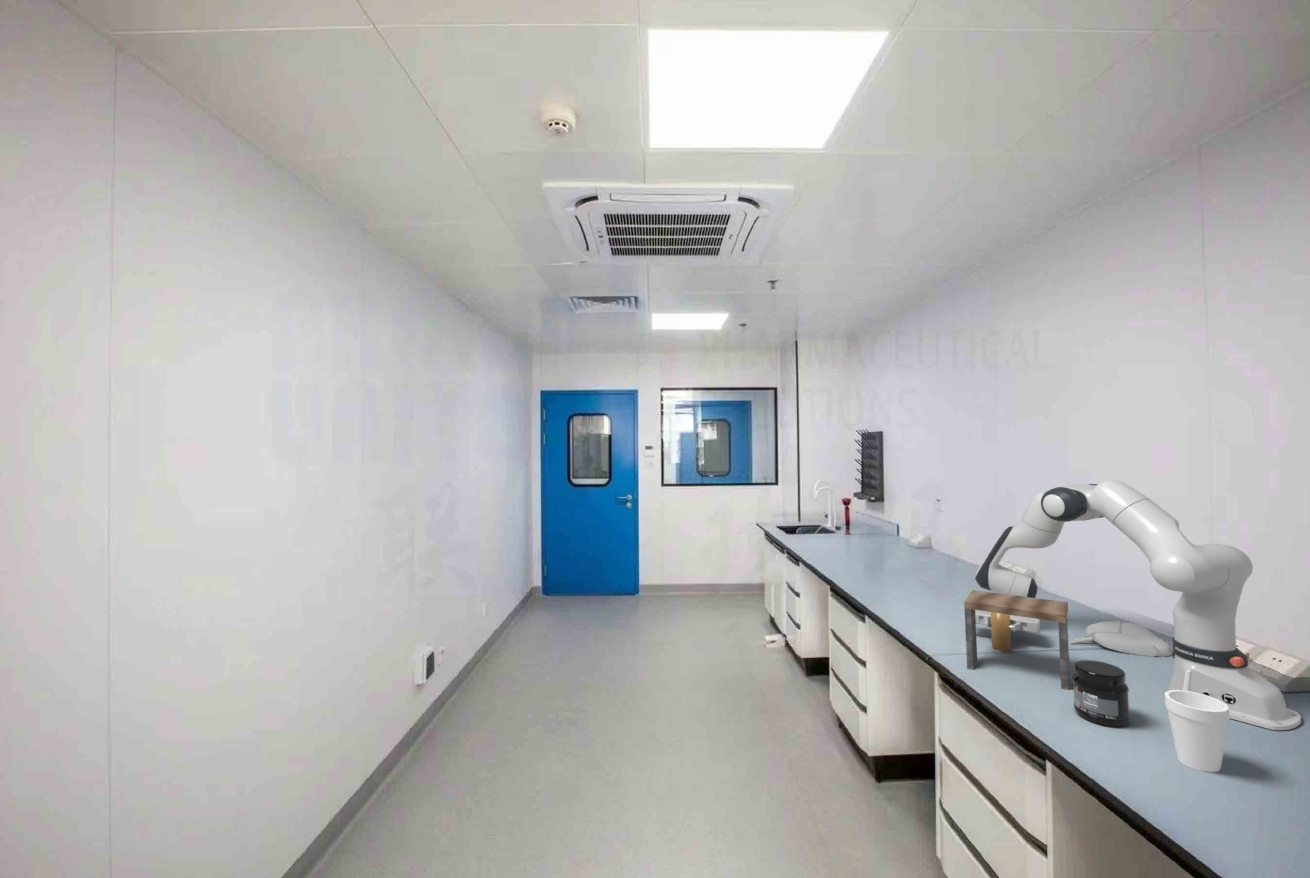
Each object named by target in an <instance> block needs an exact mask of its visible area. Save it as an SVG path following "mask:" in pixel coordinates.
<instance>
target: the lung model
mask: <svg viewBox="0 0 1310 878" xmlns="http://www.w3.org/2000/svg"><path fill="white" fill-rule="evenodd" d="M1085 636H1086V637H1078V638H1074V639H1068V643H1069V642H1070V643H1069V644H1070V645H1076V644H1080V643H1081V644H1082V643H1088V642H1089V643H1090V642H1095V643H1096V644H1099V645H1100V646H1102V647H1104V648H1106V649H1108V650H1109V649H1110V650H1112V651H1115V652H1116V651H1117V652H1120V653H1124V654H1127V653H1129V654H1128V655H1131V654H1135V655H1134V656H1141V655H1149V656H1148V657H1150V656H1158V657H1161V656H1166V657H1170V656H1173V653H1172V647H1171V645H1169V644H1168V642H1166V641H1165V640H1163V639H1162V638H1160V637H1158V636H1156V635H1154V634H1153V633H1152V632H1151V631H1149V630H1148V629H1147V627H1144V626H1142V625H1140V624H1136V623H1134V622H1122V621H1119V620H1113V621H1111V620H1110V621H1100V622H1097V623H1091V624H1089V625H1088V626H1086V627H1085Z"/></svg>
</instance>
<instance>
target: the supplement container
mask: <svg viewBox="0 0 1310 878" xmlns="http://www.w3.org/2000/svg"><path fill="white" fill-rule="evenodd" d="M1074 672H1075V673H1074V674H1073V675H1072V682H1073V703H1074V704H1073V708H1074V710H1075V712H1076V714H1077V715H1079V716H1080V717H1081V718H1082V719H1085V720H1087V721H1088V722H1091V723H1095V724H1097V725H1101V726H1107V727H1123V726H1126V725H1127V724H1129V723H1130V720H1131V719H1130V706H1129V702H1130V701H1129V691H1130V689H1129V686H1128V684H1127V683H1126V672H1125V671H1124V670H1123V669H1122V668H1120V667H1119V666H1116V665H1114V664H1111V663H1107V662H1102V661H1098V660H1090V659H1089V660H1088V659H1087V660H1086V659H1085V660H1077V661H1076V662H1074Z"/></svg>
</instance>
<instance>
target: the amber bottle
mask: <svg viewBox="0 0 1310 878" xmlns="http://www.w3.org/2000/svg"><path fill="white" fill-rule="evenodd" d="M990 631H991V647H992V649H994V650H996V651H1001V652H1008V651H1009V652H1010V651H1011V650H1012V639H1011V637H1012V636H1011V635H1012V634H1011V631H1010V615H1008V614H1001V613H994V612H991V628H990Z"/></svg>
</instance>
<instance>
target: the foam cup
mask: <svg viewBox="0 0 1310 878" xmlns="http://www.w3.org/2000/svg"><path fill="white" fill-rule="evenodd" d="M1164 706H1165V708H1166V710H1167V714H1168V719H1169V723H1170V729H1171V733H1172V738H1173V742H1174V748H1175V752H1176V755H1177V759H1178V761H1179V762H1181V763H1182V764H1183V765H1185V766H1188V767H1189V768H1192V769H1194V770H1197V771H1198V770H1199V771H1201V772H1208V773H1218V772H1220V771H1221V768H1222V763H1223V758H1224V751H1225V743H1226V737H1227V730H1228V723H1229V721H1231V720H1230V719H1231V718H1229V708H1228V706H1227V704H1225V703H1223V702H1222V701H1220V700H1218V699H1216V698H1213V697H1210V696H1207V695H1204V694H1200V693H1196V692H1191V691H1183V690H1169V691H1168V690H1167V691H1165V692H1164Z"/></svg>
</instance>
